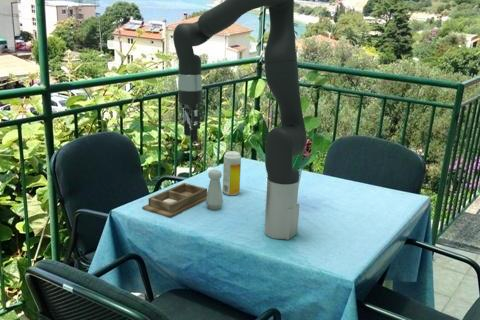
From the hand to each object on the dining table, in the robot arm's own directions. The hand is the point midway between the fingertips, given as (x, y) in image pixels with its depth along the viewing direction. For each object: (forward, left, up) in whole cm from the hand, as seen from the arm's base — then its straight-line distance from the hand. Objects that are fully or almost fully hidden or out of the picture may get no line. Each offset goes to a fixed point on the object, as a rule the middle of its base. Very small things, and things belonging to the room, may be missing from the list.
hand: (190, 138), depth 167 cm
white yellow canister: (-5, -18, -24) cm, 30 cm away
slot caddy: (+4, +1, -23) cm, 24 cm away
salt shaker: (-8, -3, -24) cm, 25 cm away
